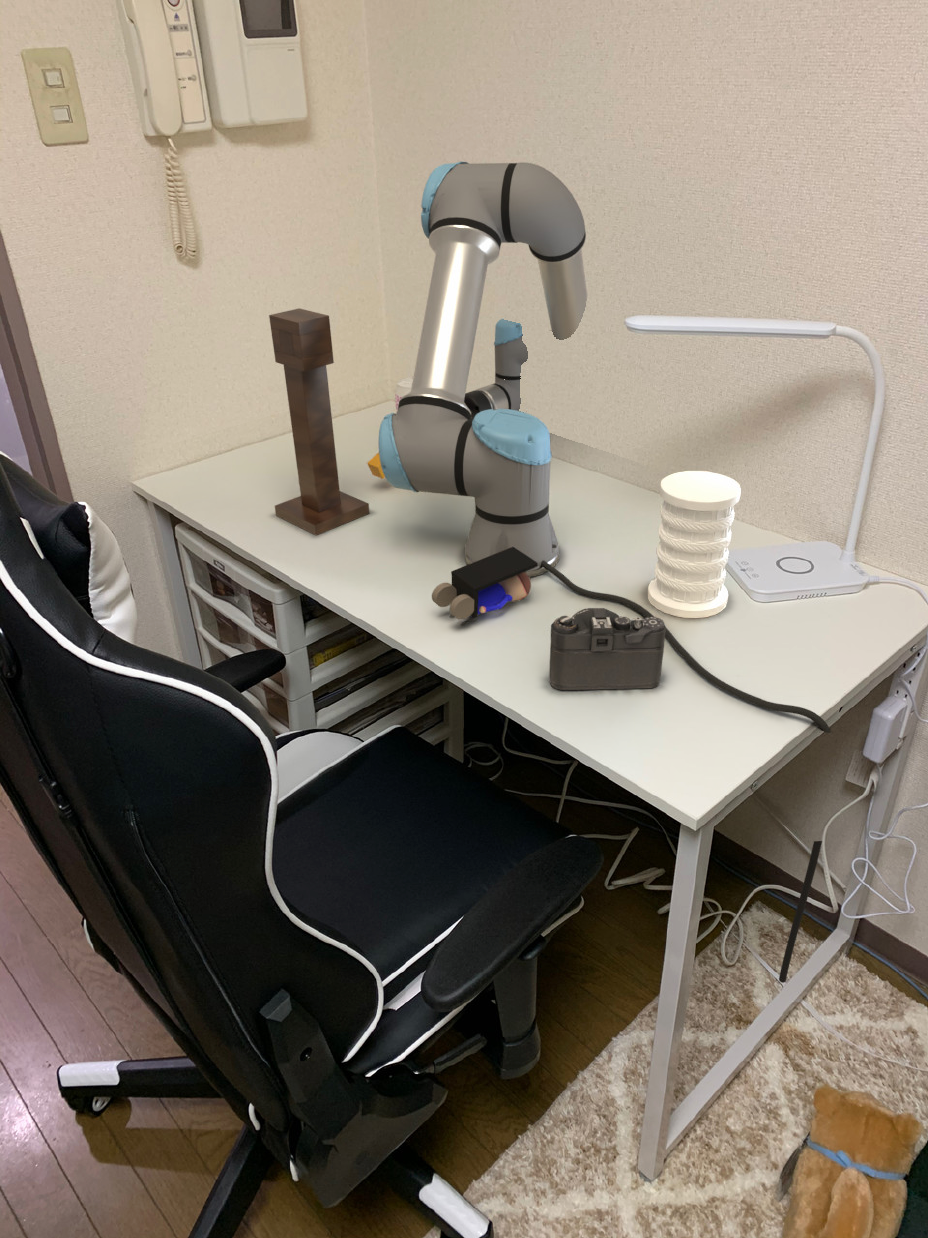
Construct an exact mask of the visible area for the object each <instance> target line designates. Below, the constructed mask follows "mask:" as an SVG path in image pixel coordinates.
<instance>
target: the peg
mask: <svg viewBox="0 0 928 1238" xmlns="http://www.w3.org/2000/svg"><path fill="white" fill-rule="evenodd" d="M366 464H367V467H368V469H369V470H370V472H371V474H372V476H374V477H377V478H379V479H381V480H384V479H386V478H385V476H384V473H383V470H382V467H381V463H380V457H379V451H378V452H377V453H376V454H375V455H374V456H373V457H371V459H370V460H369V461H368V462H366Z"/></svg>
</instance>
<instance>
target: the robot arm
mask: <svg viewBox="0 0 928 1238" xmlns="http://www.w3.org/2000/svg"><path fill="white" fill-rule="evenodd" d="M420 207H421V214H420V221H421V227H422V231H423V233H424V236H425V237H426V238H427V239H428V245H429V247H430V248H431V250H432V251H433V252H434V255H435V256H434V261H433V266H432V273H431V277H430V283H429V289H428V294H427V300H426V305H425V310H424V316H423V323H422V326H421V327H422V328H421V331H420V337H419V343H418V350H417V355H416V360H415V365H414V371H413V376H412V377H413V382H412V387H411V392H409V393H408V394H406V395H405V396H403V397H402V398H401V399H400V400H399V405H398V410H397V414H396V412H391V413H388V414H386V415H384V417H382V421H381V422H380V426H379V431H378V452H379V457H380V463H381V467H382V470H383V473H384V476H385V478H384V479H385V480H386V481H387V482H388V483H389V484H390V486H392V487H393V488H395V489H400V490H406V491H412V492H414V493H421V492H423V493H432V494H443V495H453V496H462V497H470V498H474V516H473V520H472V522H471V526H470V529H469V533H468V536H467V538H466V541H465V545H464V560H465V562H466V565H468V564H471V563H473V562H476V561H478V560H481V559H483V558H486V557H488V556H491V555H493V554H496V553H498V552H501V551H503V550H506V549H508V548H511V547H515V548H516V549H518V550H519V551H521V552H522V553H524V554H525V555H527V556H528V557H530V558H531V559H533V560H534V561H536V562H537V563H538V566H537V567H535V568H533V569H530V570H528V571H525V573H526V574H527V575H528V577H529V578H532V577H533V578H534V577H537V576H539V575H542V574H545V573H547V572H549V573H551V575H553V576H554V577H556V578H557V579H558V580H559V581H561V582H562V583H563V584H564V586H566V587H567V588H569V589H570V590H571V591H573V592H574V593H577V594H578V595H581V596H585V597H587V598H593V599H598V600H606V601H611V602H616V603H618V604H619V603H620V604H622V605H624V606H627V607H629V608H631V609H632V610H634V611H635V612H637V613H639V614H641V616H642V617H644V619H645V618H647V617H655V615H653V614H652V613H651V612H650V611H648V610H647V609H646V608H644V607H643V606H642V605H640V604H638V603H636V602H635V601H632V600H630V599H628V598H627V597H623V596H620V595H617V594H610V593H604V592H597V591H593V590H592V591H591V590H588V589H585V588H582V587H580V586H578V585H576V584H575V583H574V582H572V580H570V579H569V578H568V577H567V576H566V575H564V574H563V573H562V572H561V571H559V570H558V569H556V568H555V566H556V565H557V564H558V563H559V560H560V546H559V541H558V538H557V535H556V532H555V528H554V526H553V522H552V519H551V516H550V486H551V485H550V484H551V482H550V480H551V461H552V456H553V455H552V451H551V433H550V431H549V430H550V429H549V428H548V426H547V425H546V424H545V423H544V422H543V421H542V420H541V419H539V418H538V417H537V416H534V415H532V414H530V413H527V412H525V413H524V412H521V411H519V409H520V404H521V398H520V379H521V378H520V377H521V376H520V373H521V365H522V364H523V363H524V362H526V361H527V359H528V351H527V347H526V345H525V344H524V343H523V341H522V336H523V334H522V326H521V324H520V323H516V322H512V321H508V320H504V319H503V318H500V319H499V320H498V321H497V322H496V323H495V327H494V328H495V329H494V342H493V345H494V383H490V384H488V385H485V386H482V387H479V388H476V389H474V390H471V391H469V392H467V385H468V381H469V375H470V369H471V365H472V364H471V363H472V358H473V351H474V347H475V340H476V335H477V329H478V323H479V317H480V313H481V305H482V301H483V295H484V290H485V284H486V279H487V271H488V267H489V265H491V264H493V262H495V261H496V260H497V259H498V258H499V256H500V252H501V246H502V244H503V243H505V244H506V243H507V244H508V243H509V244H510V243H511V244H517V243H522V244H526V245H527V246H528V249H529V251H530V253H531V255H532V256H533V257H534V258H535V259H536V260H537V265H538V269H539V273H540V279H541V283H542V289H543V295H544V298H545V304H546V309H547V314H548V318H549V319H548V320H549V323H550V329H551V331H552V332H553V335H554V337H556V339H559V340H564V339H567V338H569V337H571V335H572V334H574V332H575V331H576V329H577V328H578V326H579V323H580V322H581V319H582V317H583V313H584V311H585V307H586V301H587V298H588V292H587V283H586V275H585V267H584V259H583V251H582V249H583V247H584V246H585V243H586V239H587V238H586V237H587V233H586V225H585V219H584V215H583V213H582V210H581V207H580V206H579V204H578V202H577V200H576V199H575V196H574V195H573V193H572V192H571V191H570V190H569V188H568V186H566V184H565V183H564V182H563V181H562V180H561V179H560V178H559V177H557V176H556V175H555V174H554V173H552V172H551V171H550V170H548V169H546V168H545V167H543V166H540V165H539V164H536V163H532V162H495V163H494V162H492V163H491V162H490V163H489V162H487V163H486V162H485V163H481V162H479V163H469V162H468V161H457V162H453V163H443V164H441V165H438V166H436V168H434V169H433V170H432V171H431V173H430V174H429V176H428V178H427V180H426V183H425V186H424V189H423V192H422V197H421V206H420ZM504 379H505V380H504ZM665 640H667V641H668V643H669V644H670V645H671V646H672V647H673V649H674V650H675V651H676V652H677V653H678V654H679V655H680V656H681V657H682V658H683V660H685V662H686V663H687V664H688V665H689V666H690V667H691V668H692V669H693V670H694V671H695V672H696V673H698V674H699V675H700V676H701V677H702V678H704V679H705V680H706V681H708V682H709V683H711V684H712V685H714V686H716V688H719V689H720V690H722V691H724V692H726V693H728V694H729V695H731V696H734V697H735V698H738V699H741V700H743V701H746V702H748V703H750V704H752V705H755V706H757V707H760V708H762V709H766V710H769V711H773V712H774V711H775V712H780V713H787V714H795V715H799V716H802V717H805V718H807V719H809V720H811V721H812V722H814V723H815V724H816V725H817V726H818V727H819V729H820V730H821V731H822V732H824V733H826V734H830V733H831V732H832V730H831V728H830V726H829V725H828V723H827V722H826V721H825V719H823V718H822V717H821V716H820V715H819V714H818V713H816V712H815V711H812V710H810V709H808V708H805V707H802V706H801V707H800V706H797V705H796V706H795V705H790V704H782V703H777V702H772V701H767V700H765V699H762V698H759V697H757V696H755V695H752V694H750V693H747V692H745V691H743V690H741V689H738V688H736V687H734V686H732V685H730V684H728V683H726V682H724V681H723V680H721V679H720V678H718V677H716V675H713V674H712V673H711V672H709V671H708V670H707V669H706V668H704V667H703V666H702V665H701V664H700V663H699V662H698V661H697V660H696V659H695V658H694V657H693V656H692V655H691V654H690V653H689V652H688V651H687V650H686V649H685V648H684V647H683V646H682V645H681V643H680V642H679V641H678V640H677V638H676V637H675V635H673V634H672V633H671V631H670V630H669V629H668V628H667V627H666V631H665ZM822 844H823V841H822V840H813V844H812V848H811V852H810V857H809V861H808V864H807V868H806V873H805V877H804V880H803V884H802V888H801V891H800V895H799V899H798V901H797V905H796V908H795V909H796V910H795V913H794V917H793V920H792V924H791V927H790V932H789V935H788V940H787V943H786V945H785V951H784V953H783V954H784V955H783V959H782V963H781V967H780V971H779V977H778V981H779V982H780V983H782V984H784V983H786V981H787V977H788V973H789V969H790V964H791V960H792V957H793V952H794V948H795V945H796V941H797V936H798V934H799V929H800V926H801V923H802V919H803V915H804V912H805V908H806V904H807V901H808V898H809V894H810V890H811V887H812V883H813V880H814V876H815V872H816V868H817V864H818V860H819V857H820V852H821V848H822Z"/></svg>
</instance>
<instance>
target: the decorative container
mask: <svg viewBox="0 0 928 1238" xmlns="http://www.w3.org/2000/svg"><path fill="white" fill-rule="evenodd" d="M741 493H742V489H741V485H740V483H739V482H737V481H736V480H735V479H733V478H732V477H729V476H728V475H725V474H721V473H718V472H712V471H705V470H686V471H685V470H684V471H679V472H674V473H671V474H669V475H666V476H664V477H663V478H662V479H661V481H660V484H659V495H660V497H661V498H662V500H663V502H662V504H661V507H660V510H659V511H660V518H661V523H660V524H659V527H658V531H657V532H658V538H659V543H658V545H657V547H656V558H657V559H658V560H657V562H656V564H655V567H654V575H655V577H654V579H651V581H650V582H649V584H648V586H647V599H648V602H649V603H650V604H651V605H652V606H653V607H654V608H656V610H657V611H658V610H659V611H660V612H662V613H665V614H667V615H669V616H670V615H671V616H673V617H679V618H683V619H702V618H703V619H704V618H708V617H713V616H716V615H717V614H720V613H721V612H722V611H724V610H725V608H726V607H727V603H728V600H729V592H728V589H727V588H726V586H725V585H724V583H725V580H726V578H727V576H726V575H727V573H726V572H727V571H726V565H727V563H728V561H729V555H730V554H729V549H728V546H729V545H730V544H731V543H730V542H731V540H732V535H733V534H732V529H731V527H732V526H731V525H732V524H733V522H734V519H735V517H736V516H735V509H734V507H735V505H736V504H738V503H739V501H740V498H741Z"/></svg>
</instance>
